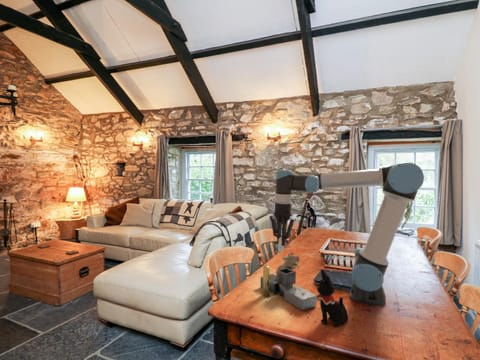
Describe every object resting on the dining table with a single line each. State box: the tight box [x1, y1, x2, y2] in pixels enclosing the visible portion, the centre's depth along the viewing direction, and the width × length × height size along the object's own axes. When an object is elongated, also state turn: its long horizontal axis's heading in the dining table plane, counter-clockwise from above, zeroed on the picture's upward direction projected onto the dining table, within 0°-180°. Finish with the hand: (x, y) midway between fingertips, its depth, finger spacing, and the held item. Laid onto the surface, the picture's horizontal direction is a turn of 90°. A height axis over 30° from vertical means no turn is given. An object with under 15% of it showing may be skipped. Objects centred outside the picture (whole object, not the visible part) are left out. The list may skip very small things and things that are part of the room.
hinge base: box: [260, 267, 297, 299], centre depth 139 cm, size 17×8×12 cm, turn 37°
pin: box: [262, 264, 270, 298], centre depth 134 cm, size 3×3×14 cm
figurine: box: [316, 268, 349, 328], centre depth 111 cm, size 8×13×20 cm, turn 95°
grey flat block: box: [283, 285, 317, 311], centre depth 127 cm, size 12×8×5 cm, turn 31°
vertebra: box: [278, 252, 301, 271], centre depth 171 cm, size 20×11×10 cm, turn 140°
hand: (280, 251), depth 136 cm, fingers closed
